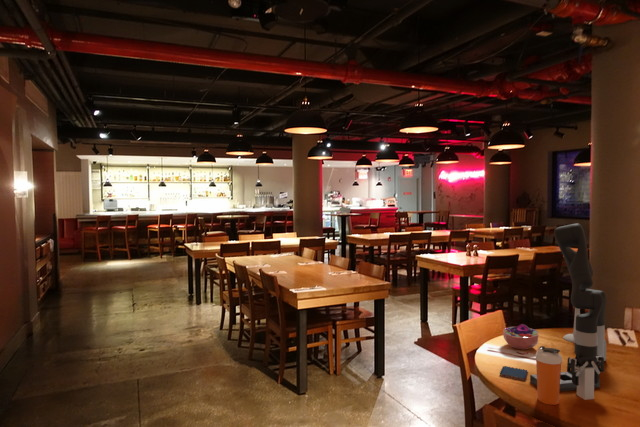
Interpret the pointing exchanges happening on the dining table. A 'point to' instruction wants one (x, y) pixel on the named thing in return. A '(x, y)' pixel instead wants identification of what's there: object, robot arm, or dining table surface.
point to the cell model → (521, 336)
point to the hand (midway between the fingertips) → (585, 383)
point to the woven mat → (514, 373)
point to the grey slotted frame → (563, 382)
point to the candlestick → (572, 336)
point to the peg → (586, 383)
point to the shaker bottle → (548, 375)
